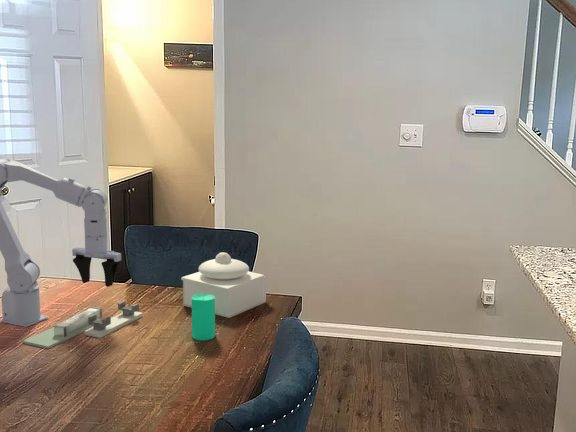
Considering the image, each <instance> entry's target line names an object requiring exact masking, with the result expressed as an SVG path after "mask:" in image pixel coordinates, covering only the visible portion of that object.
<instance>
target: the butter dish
mask: <svg viewBox="0 0 576 432" xmlns="http://www.w3.org/2000/svg"><path fill="white" fill-rule="evenodd" d="M180 280H181V281H182V306H184V307H189V308H191V309H192V296H194V295H197V294H203V291H204V294H206V295H213V296H214V297H215V316H216V315H217V316H221V317H224V318H226V319H229V318H232V317H235V316H237V315H240V314H241V313H244V312H246V311H249V310H251V309H253V308H255V307H258V306H260V305H263V304H265V303H266V302H267V276H265V274H262V273H257V272H254V271H250V267H249V265H248V264H247V263H246V262H243V261H242V260H239V259H236V258H235V259H234V258H232V257H231V255H230V254H229V253H227V252H224V251H223V252H219V253H217V254H216V255H215V258H213V259H209V260H206V261H204V262H202V263H201V264H200V265H199V266H198V272H197V271H196V272H194V273H191V274H188V275H187V274H186V275H185V276H181V278H180Z"/></svg>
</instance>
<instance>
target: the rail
mask: <svg viewBox="0 0 576 432" xmlns="http://www.w3.org/2000/svg"><path fill="white" fill-rule="evenodd" d="M93 314H97V319H101V318H103V309H102V307H97V306H91V307H89V308H88V309H85V310H83V311H82V312H80V313H78V314H75V315H73V316H72V317H69V318H67V319H66V320H64V321H61V322H59V323H57V324H55V325H53V327H54V336H59V337H66V336H68V335H69V334H71V333H73V332H75V331H77V330H79V329H81V328H83V327H84V326H86V325H88V317H89V316H91V315H93Z"/></svg>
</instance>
